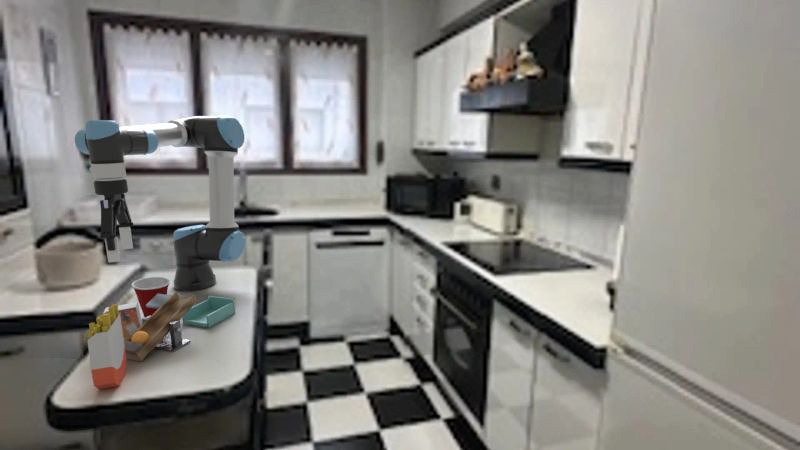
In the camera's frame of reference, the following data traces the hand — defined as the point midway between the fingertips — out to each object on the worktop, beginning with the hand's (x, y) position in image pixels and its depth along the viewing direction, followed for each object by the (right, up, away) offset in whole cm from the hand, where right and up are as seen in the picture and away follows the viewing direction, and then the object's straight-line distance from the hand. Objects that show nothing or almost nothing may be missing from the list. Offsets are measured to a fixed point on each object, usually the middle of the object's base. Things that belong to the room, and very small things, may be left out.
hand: (121, 255), depth 122 cm
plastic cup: (-1, -21, +19) cm, 29 cm away
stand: (+11, -25, +1) cm, 28 cm away
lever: (+8, -20, +1) cm, 22 cm away
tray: (+17, -21, +18) cm, 33 cm away
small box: (+1, -25, +1) cm, 25 cm away
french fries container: (+9, -29, -18) cm, 36 cm away
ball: (+9, -22, -7) cm, 24 cm away
